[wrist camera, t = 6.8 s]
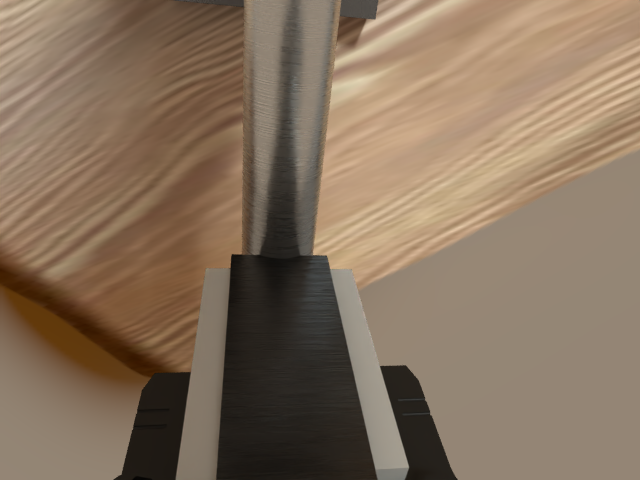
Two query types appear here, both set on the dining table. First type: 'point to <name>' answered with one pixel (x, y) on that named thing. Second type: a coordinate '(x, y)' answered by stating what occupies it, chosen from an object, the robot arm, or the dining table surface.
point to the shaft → (287, 268)
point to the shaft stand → (354, 3)
